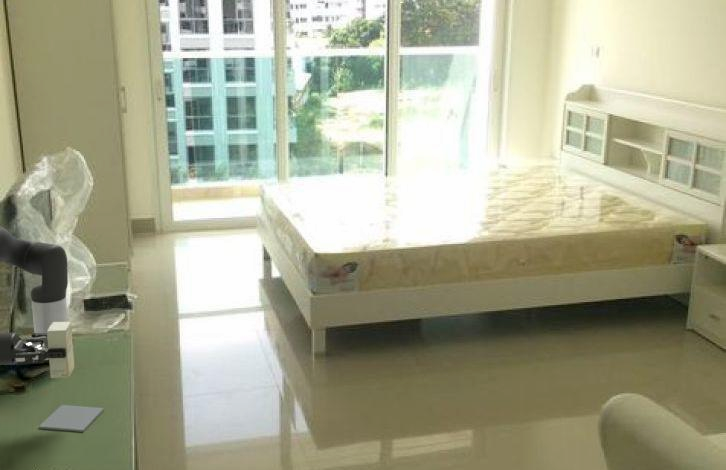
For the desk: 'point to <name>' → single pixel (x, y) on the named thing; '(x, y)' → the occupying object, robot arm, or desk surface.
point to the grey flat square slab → (71, 418)
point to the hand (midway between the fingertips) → (69, 347)
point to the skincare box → (61, 338)
